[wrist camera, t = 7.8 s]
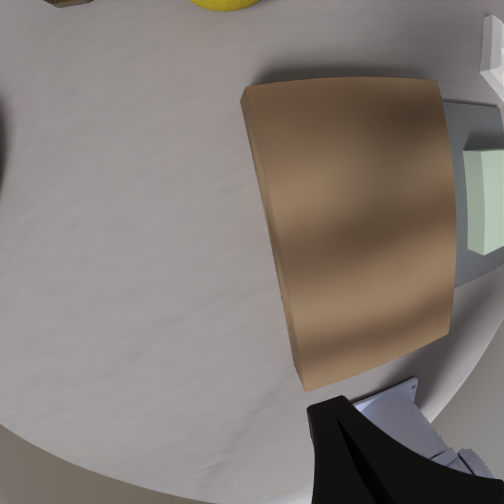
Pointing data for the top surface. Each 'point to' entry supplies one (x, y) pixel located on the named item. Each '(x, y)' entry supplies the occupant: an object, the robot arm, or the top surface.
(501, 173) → the tile
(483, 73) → the soap bar
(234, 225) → the top surface
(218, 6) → the lemon
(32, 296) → the top surface
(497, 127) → the mat
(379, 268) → the board
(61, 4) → the ceramic cup
